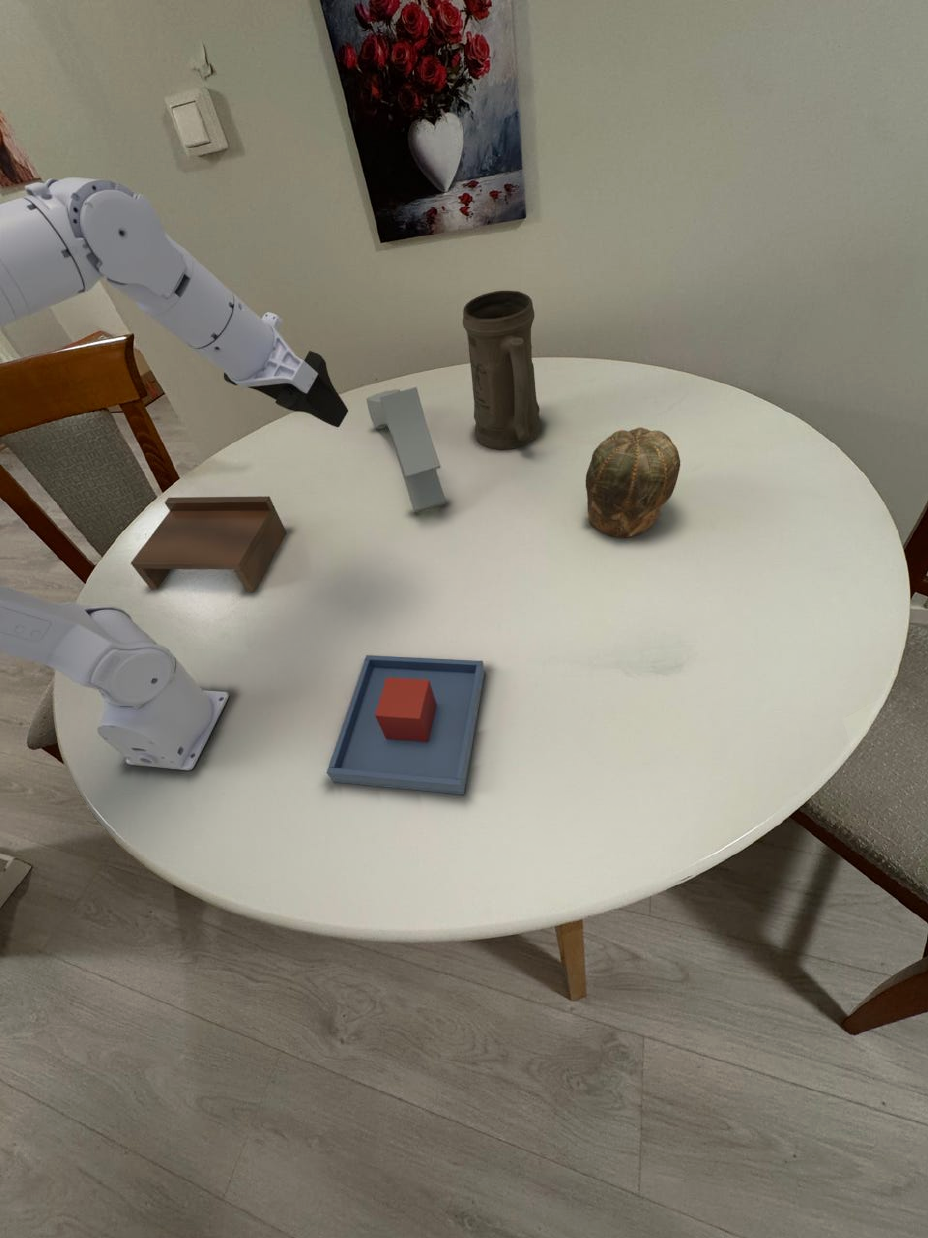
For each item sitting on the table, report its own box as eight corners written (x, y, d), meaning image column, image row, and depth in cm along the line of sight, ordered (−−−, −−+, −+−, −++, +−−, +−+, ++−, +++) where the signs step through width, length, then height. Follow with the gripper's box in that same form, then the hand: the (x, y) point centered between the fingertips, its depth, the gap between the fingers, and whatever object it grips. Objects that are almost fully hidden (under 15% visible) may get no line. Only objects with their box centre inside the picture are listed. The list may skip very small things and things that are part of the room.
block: (428, 742, 58) (419, 718, 55) (385, 739, 59) (374, 715, 56) (437, 704, 61) (429, 679, 58) (396, 701, 62) (386, 677, 58)
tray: (463, 795, 54) (460, 785, 53) (332, 782, 57) (326, 772, 56) (484, 671, 63) (482, 660, 62) (370, 665, 66) (366, 654, 65)
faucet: (393, 492, 105) (414, 524, 77) (364, 396, 98) (375, 394, 71) (426, 483, 105) (458, 511, 78) (399, 387, 99) (424, 380, 71)
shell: (672, 547, 72) (686, 464, 63) (582, 544, 75) (583, 464, 66) (670, 493, 79) (682, 411, 70) (587, 492, 81) (589, 413, 72)
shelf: (254, 592, 77) (233, 555, 72) (150, 589, 81) (123, 554, 76) (286, 532, 85) (269, 496, 80) (190, 531, 88) (168, 497, 83)
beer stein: (462, 425, 97) (446, 301, 82) (519, 404, 99) (514, 279, 84) (505, 475, 88) (497, 346, 73) (566, 450, 90) (571, 320, 74)
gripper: (283, 290, 45) (384, 391, 56) (190, 264, 52) (296, 358, 64) (238, 370, 45) (347, 454, 57) (151, 333, 52) (264, 414, 64)
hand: (318, 408), depth 60 cm, fingers open, 7 cm apart
